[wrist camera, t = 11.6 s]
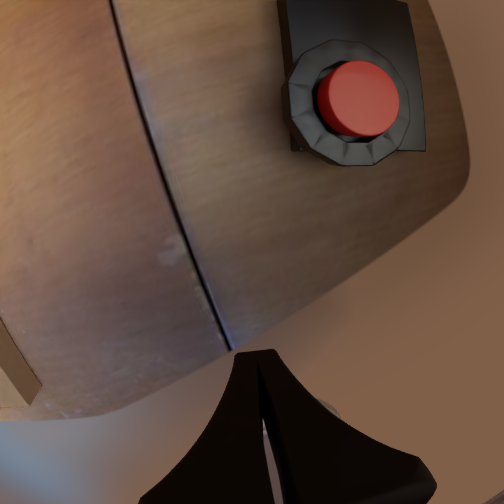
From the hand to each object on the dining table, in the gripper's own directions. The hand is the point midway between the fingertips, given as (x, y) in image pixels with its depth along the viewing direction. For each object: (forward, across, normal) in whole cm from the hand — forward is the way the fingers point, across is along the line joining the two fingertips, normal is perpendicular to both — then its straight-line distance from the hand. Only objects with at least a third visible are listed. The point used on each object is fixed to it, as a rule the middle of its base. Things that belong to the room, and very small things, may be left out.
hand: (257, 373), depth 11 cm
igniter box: (+10, -8, -12) cm, 17 cm away
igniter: (+6, -6, -9) cm, 13 cm away
